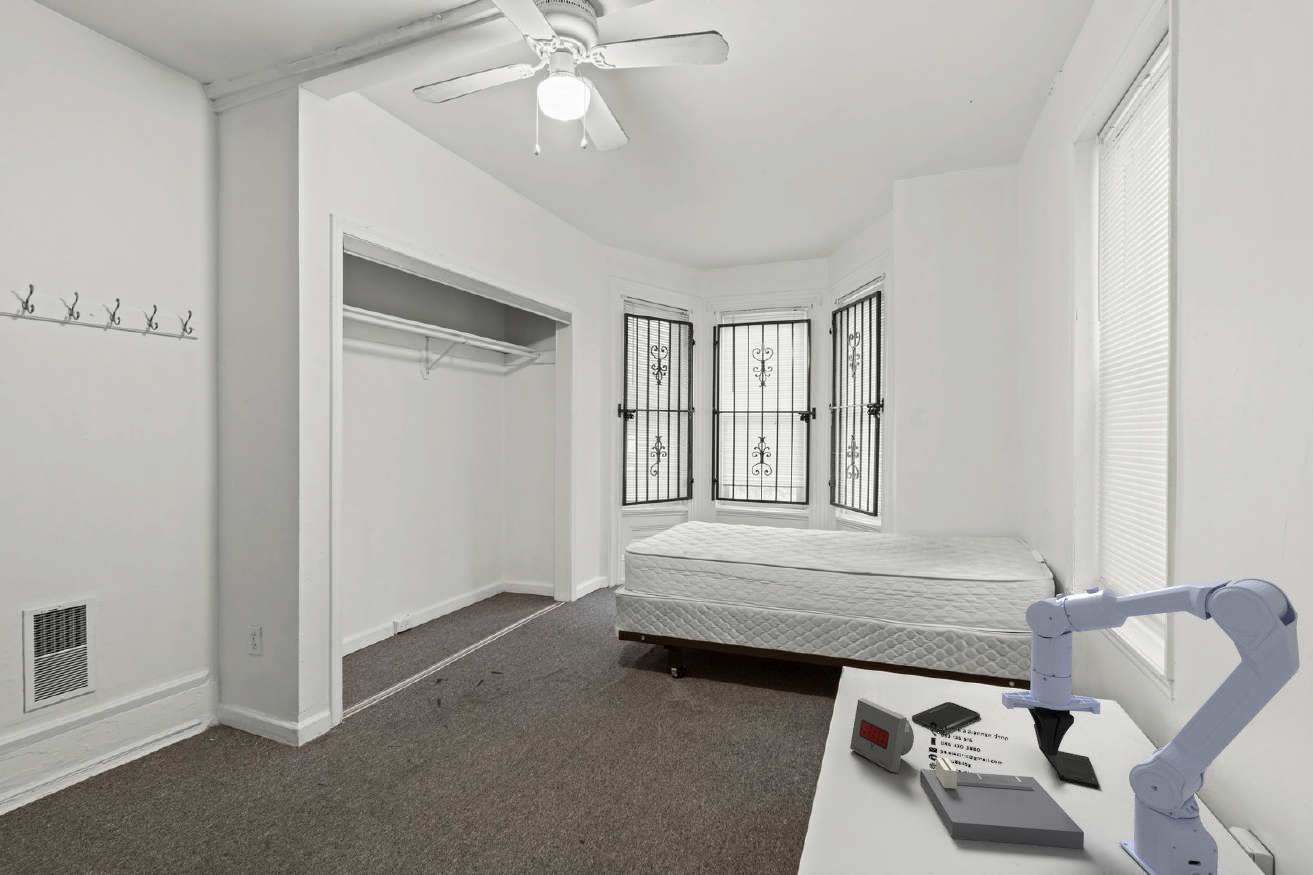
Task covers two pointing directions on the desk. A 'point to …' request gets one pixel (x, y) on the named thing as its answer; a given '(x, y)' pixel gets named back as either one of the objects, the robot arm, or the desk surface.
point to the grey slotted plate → (1001, 810)
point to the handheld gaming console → (1071, 767)
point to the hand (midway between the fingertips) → (1049, 752)
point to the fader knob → (946, 773)
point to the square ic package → (946, 717)
